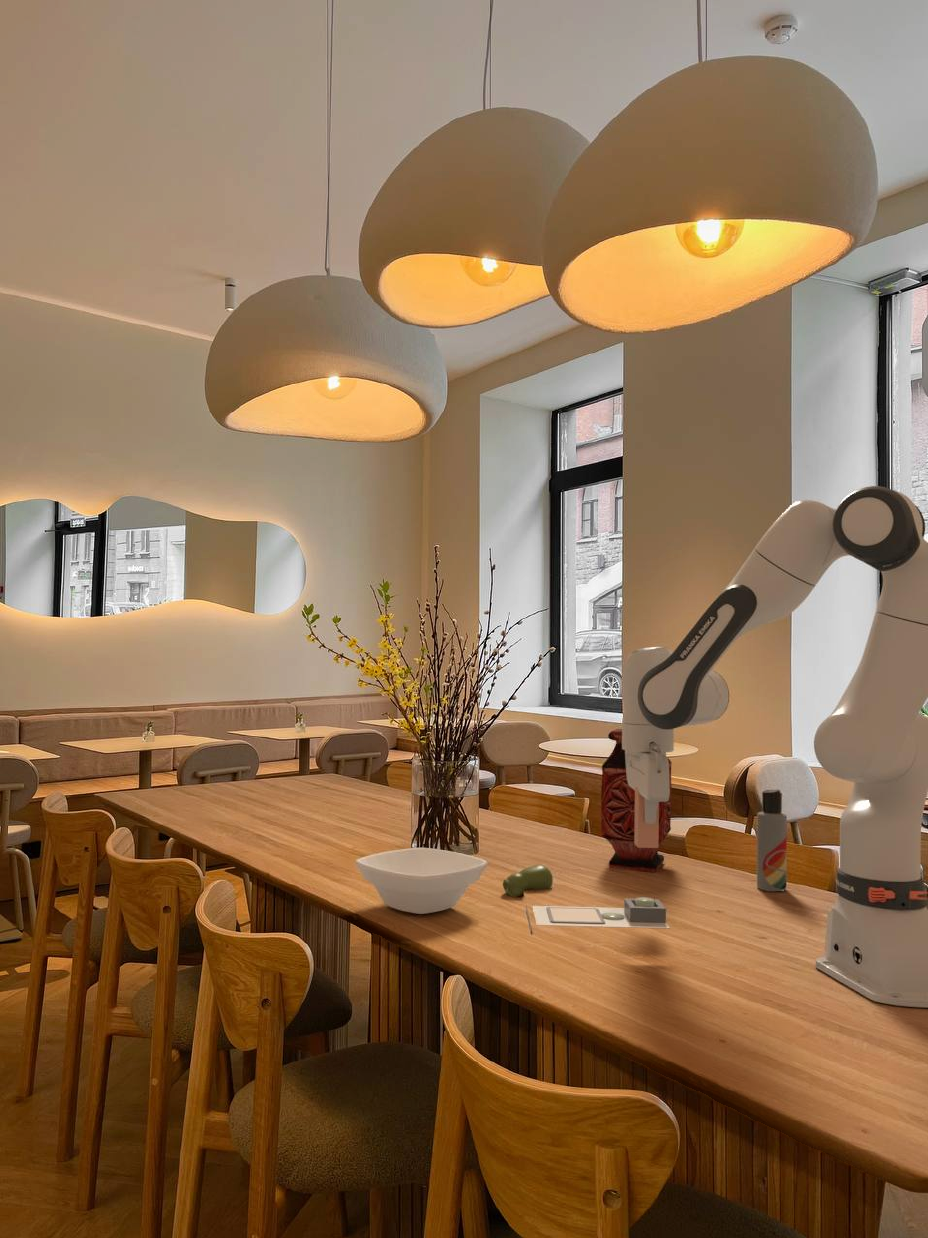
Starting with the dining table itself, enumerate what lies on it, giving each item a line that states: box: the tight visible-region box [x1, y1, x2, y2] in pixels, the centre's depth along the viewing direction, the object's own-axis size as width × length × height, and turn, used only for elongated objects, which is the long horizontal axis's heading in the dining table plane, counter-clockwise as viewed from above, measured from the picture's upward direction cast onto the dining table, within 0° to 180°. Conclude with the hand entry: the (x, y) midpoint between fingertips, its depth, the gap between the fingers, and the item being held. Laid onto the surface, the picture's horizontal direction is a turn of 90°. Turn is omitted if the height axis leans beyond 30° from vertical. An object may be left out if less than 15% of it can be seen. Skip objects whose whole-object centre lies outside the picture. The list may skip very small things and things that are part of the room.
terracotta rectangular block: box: [634, 786, 659, 848], centre depth 158 cm, size 4×4×12 cm
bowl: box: [354, 847, 489, 915], centre depth 165 cm, size 21×21×9 cm
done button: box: [634, 897, 654, 907], centre depth 157 cm, size 3×3×2 cm
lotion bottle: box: [756, 789, 788, 892], centre depth 185 cm, size 6×6×20 cm
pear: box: [502, 864, 554, 898], centre depth 177 cm, size 6×5×10 cm
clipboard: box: [525, 905, 670, 935], centre depth 157 cm, size 14×24×1 cm, turn 90°
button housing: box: [623, 898, 667, 924], centre depth 157 cm, size 6×6×2 cm
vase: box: [600, 728, 672, 873], centre depth 205 cm, size 14×14×30 cm
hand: (646, 820), depth 158 cm, fingers closed on terracotta rectangular block, 3 cm apart
